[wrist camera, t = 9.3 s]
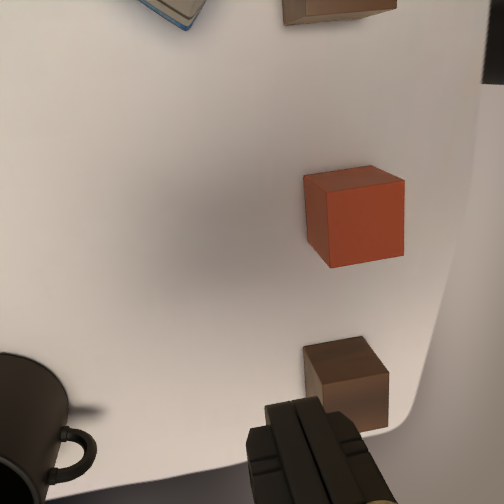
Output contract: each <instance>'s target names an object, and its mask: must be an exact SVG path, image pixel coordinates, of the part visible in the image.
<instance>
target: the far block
mask: <svg viewBox="0 0 504 504" xmlns="http://www.w3.org/2000/svg"><path fill="white" fill-rule="evenodd" d="M303 349H304V366H305V383H306V397H312V396H318V398H319V399H320V402H321V404H322V406H323V408H324V410H325V412H326V413H331V412H336V411H340V412H341V413H343V414H344V415H345V416H346V417H348V418H349V419H350V420H351V421H353V422H354V424H355V426H356V428H357V430H358V432H359V433H360V432H365V431H370V430H375V429H380V428H385V427H388V408H389V371H388V370H387V369H386V367H385V366H384V365H383V363H382V362H381V361H380V359H379V358H378V357H377V355H376V354H375V353H374V351H373V350H372V349H371V347H370V346H369V344H368V343H367V342H366V340H365V339H364V338H363V337H357V338H351V339H345V340H340V341H334V342H329V343H323V344H317V345H312V346H306V347H304V348H303Z"/></svg>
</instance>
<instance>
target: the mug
mask: <svg viewBox="0 0 504 504" xmlns="http://www.w3.org/2000/svg"><path fill="white" fill-rule="evenodd" d="M68 412H69V411H68V402H67V398H66V395H65V393H64V391H63V389H62V387H61V385H60V384H59V382H58V381H57V380H56V378H55V377H54V376H52V375H51V374H50V373H49V372H48V371H47V370H45V369H44V368H43V367H41V366H39V365H37V364H35V363H33V362H31V361H28V360H26V359H23V358H19V357H15V356H8V355H0V504H44V502H45V498H46V495H47V491H48V488H49V485H55V484H57V483H63V482H68V481H71V480H73V479H76V478H78V477H79V476H81V475H83V474H84V473H85V472H86V471H87V470H88V469H89V468H90V467H91V466H92V464H93V462H94V460H95V457H96V454H97V445H96V442H95V440H94V439H93V437H92V436H91V435H90V434H88V433H86V432H84V431H82V430H79V429H73V428H70V427H69V426H66V423H67V419H68ZM67 441H72V442H76V443H78V444H79V445H81V446H82V448H83V449H84V456H83V458H82V459H81V460H80V461H79V462H78V463H76V464H74V465H72V466H70V467H67V468H61V469H58V468H54V466H55V463H56V459H57V455H58V452H59V448H60V445H61V442H67Z"/></svg>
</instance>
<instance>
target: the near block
mask: <svg viewBox="0 0 504 504" xmlns="http://www.w3.org/2000/svg"><path fill="white" fill-rule="evenodd" d="M282 4H283V21H284V25H293V24H304V23H315V22H327V21H338V20H349V19H360V18H364V17H368V16H371V15H375V14H379V13H382V12H386V11H390V10H393V9H396V8H397V0H282Z"/></svg>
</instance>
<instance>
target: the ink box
mask: <svg viewBox="0 0 504 504" xmlns="http://www.w3.org/2000/svg"><path fill="white" fill-rule="evenodd" d="M139 1H140V2H142V3H143V4H145V5H146V6H147V7H149V8H150V9H152V10H153V11H155V12H156V13H158V14H159V15H161V16H162V17H164V18H165V19H167V20H168V21H170V22H171V23H173V24H175V25H176V26H178V27H179V28H181V29H183V30H185V31H187V30H189V29H190V27H191V26H192V24H193V22H194V21H195V19H196V17H197V15H198V14H199V12H200V10H201V8H202V7H203V5H204V3H205V1H206V0H139Z"/></svg>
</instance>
